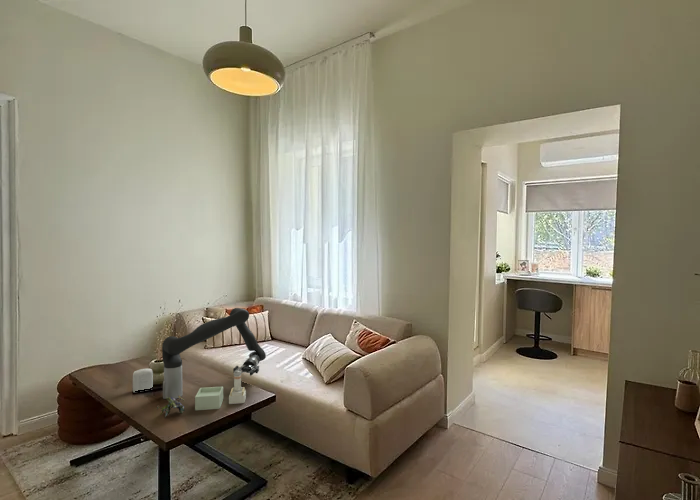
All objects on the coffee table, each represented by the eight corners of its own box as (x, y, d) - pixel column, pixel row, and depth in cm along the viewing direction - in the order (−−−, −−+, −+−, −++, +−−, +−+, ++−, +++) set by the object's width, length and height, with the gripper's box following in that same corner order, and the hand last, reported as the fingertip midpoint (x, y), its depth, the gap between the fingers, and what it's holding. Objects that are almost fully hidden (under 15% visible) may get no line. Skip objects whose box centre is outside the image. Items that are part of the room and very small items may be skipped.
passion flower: (180, 423, 193) (191, 407, 190) (159, 428, 184) (170, 410, 181) (172, 405, 199) (183, 389, 196) (152, 409, 190) (162, 392, 188)
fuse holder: (228, 404, 203) (228, 393, 203) (231, 397, 211) (231, 387, 211) (244, 403, 205) (244, 392, 204) (246, 396, 213) (245, 386, 212)
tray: (195, 410, 196) (195, 396, 196) (200, 400, 208) (200, 387, 207) (219, 408, 198) (219, 395, 198) (223, 399, 210) (223, 386, 209)
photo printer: (152, 387, 226) (152, 366, 226) (153, 389, 222) (153, 368, 222) (132, 390, 220) (132, 369, 220) (133, 393, 217) (132, 371, 216)
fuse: (233, 394, 206) (233, 372, 205) (234, 392, 209) (234, 370, 209) (240, 394, 206) (240, 372, 206) (241, 391, 210) (241, 370, 210)
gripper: (239, 358, 234) (230, 367, 218) (262, 358, 234) (255, 367, 218) (239, 370, 234) (230, 380, 218) (262, 370, 234) (255, 380, 218)
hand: (243, 373), depth 218 cm, fingers open, 8 cm apart
